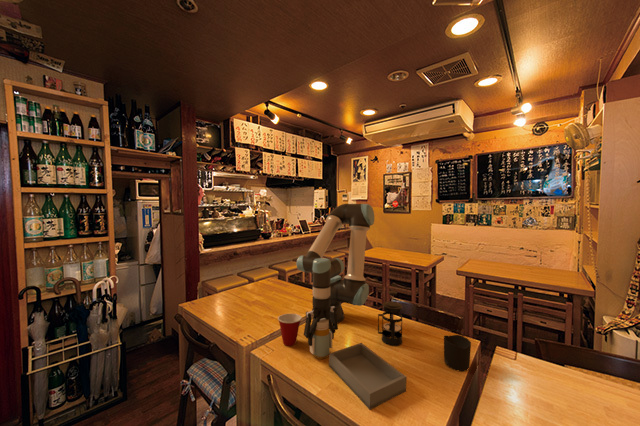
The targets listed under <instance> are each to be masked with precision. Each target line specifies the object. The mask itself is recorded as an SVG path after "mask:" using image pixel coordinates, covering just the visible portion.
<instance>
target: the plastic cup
mask: <svg viewBox="0 0 640 426" xmlns="http://www.w3.org/2000/svg"><path fill="white" fill-rule="evenodd" d="M277 321H278V323H279V326H280V334H281V340H282V343H283V345H284V346H285V347H293V346H296V344H297V339H298V335H299V328H300V323H301V321H302V316H301V315H300V314H297V313H284V314H281V315H278V317H277Z"/></svg>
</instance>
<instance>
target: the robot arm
mask: <svg viewBox="0 0 640 426" xmlns="http://www.w3.org/2000/svg"><path fill="white" fill-rule="evenodd" d="M374 224H375V212H374V208H373V207H372V205H371V204H369V203H342V204H340V205H338V206H336V207H335V208H333V209H332V210H331V211H330V212H329V214H328V215H327V217H326V218H325V223H324V225H323V227H322V228H321V229H320V231H319V233H318V235H317V236H316V238H315V240H314V241H313V242H312V244H311V246H310V248H309V249H308V251H306V252H307V253H306V254H304V255H300V256H298V258H297V259H296V264H295V265H296V268H297V270H298V271H300V272H304V273H309V274H312V309H311V310H310V311H305V323H304V329H303V336H304V338H306V339H307V344H308V346H309V352H310V353H311V354H312V355H313V354H314V342H315V338H314V337H313V335H314V332H315V330H316V327H317V322H319V321H320V319H322V318H326V319H327V320H329V330H330V349H333V340H334V338H335V333H336V331H337V330H338V329H339V325H338V324H339V323H341V322H343V321H344V319H345V313H344V310H343V307H342V303H344V304H350V305H353V306H359V307H362V306H363V305H364V304H365V303H366V302H367V299H368V297H369V294H370V293H369V292H370V286H369V284H368V283H367V282H366V278H365V277H364V270H365V258H366V243H367V235H368V234H367V232H368V231H369V230H370V229H371V226H373V225H374ZM343 225H348V228H349V230H350V236H349V248H348V260H347V270H346V271H347V272H346V275H344V276H343V279H342V276H341V275H340V274H341V273H343V272H344V270H345V264H344V262H343V261H344V260H342V259H341V258H339V257H334V258H326V257H324V255H325V254H326V251H327V250H328V248H329V246H330V244H331V242H332V241H333V239H334V237H335V235H336V233H337V232H338V230H339V229H341V228H342V226H343Z"/></svg>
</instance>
